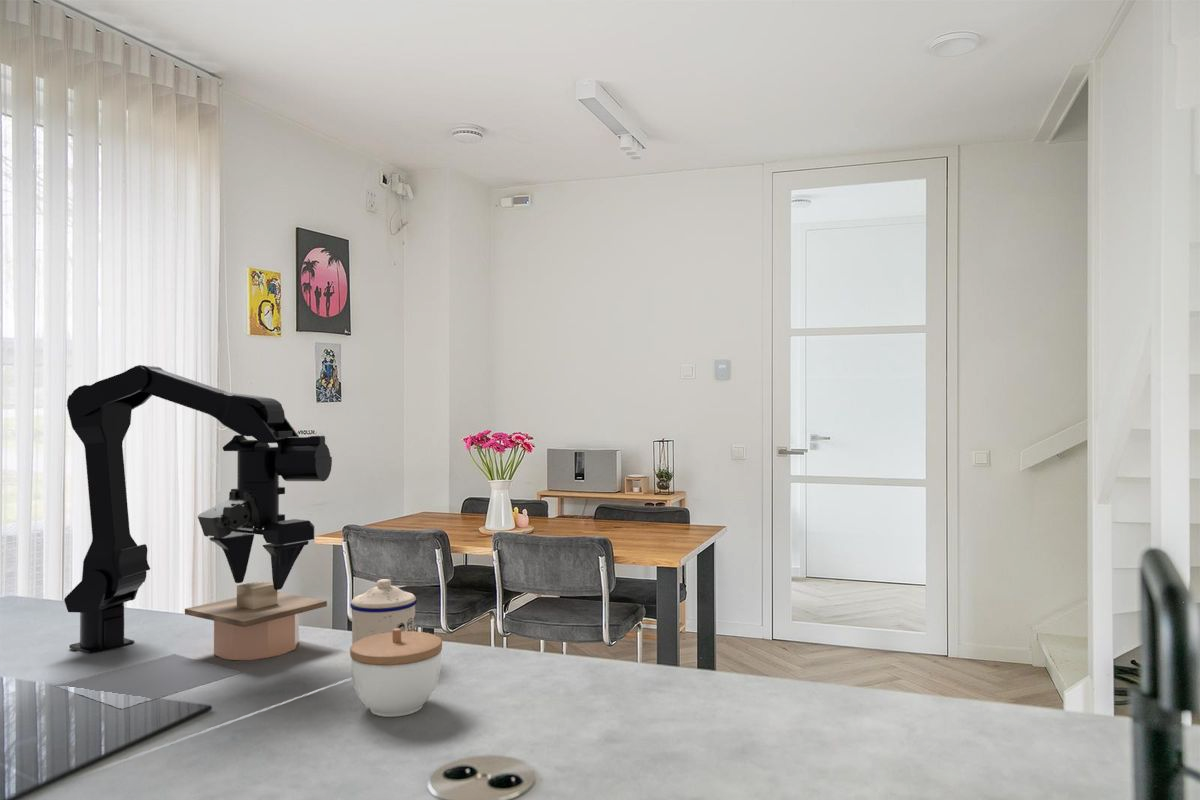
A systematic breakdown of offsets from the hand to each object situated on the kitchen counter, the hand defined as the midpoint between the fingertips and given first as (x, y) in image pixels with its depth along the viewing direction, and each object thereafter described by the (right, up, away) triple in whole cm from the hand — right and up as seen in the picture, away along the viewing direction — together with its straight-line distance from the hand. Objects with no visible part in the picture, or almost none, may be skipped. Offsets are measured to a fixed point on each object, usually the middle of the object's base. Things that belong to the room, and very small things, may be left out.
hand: (258, 586), depth 121 cm
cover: (0, -4, 0) cm, 4 cm away
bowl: (0, -10, 0) cm, 10 cm away
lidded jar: (+27, -9, -24) cm, 37 cm away
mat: (-8, -9, -14) cm, 19 cm away
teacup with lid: (+21, -10, -5) cm, 23 cm away
